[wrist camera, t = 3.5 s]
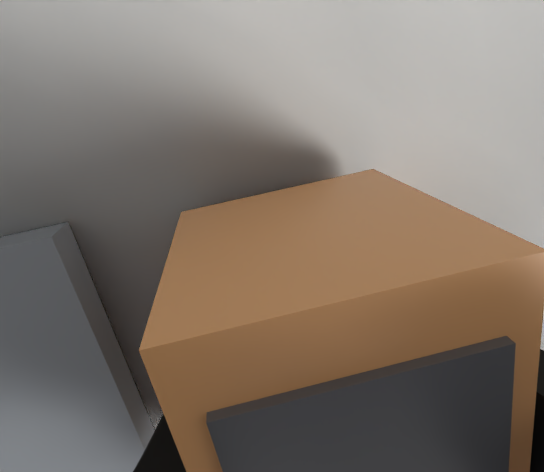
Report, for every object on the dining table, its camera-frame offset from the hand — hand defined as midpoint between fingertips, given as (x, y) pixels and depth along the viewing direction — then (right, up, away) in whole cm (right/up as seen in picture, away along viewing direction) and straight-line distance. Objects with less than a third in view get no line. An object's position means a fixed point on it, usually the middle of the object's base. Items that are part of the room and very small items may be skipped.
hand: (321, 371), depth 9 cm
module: (0, 0, +2) cm, 2 cm away
